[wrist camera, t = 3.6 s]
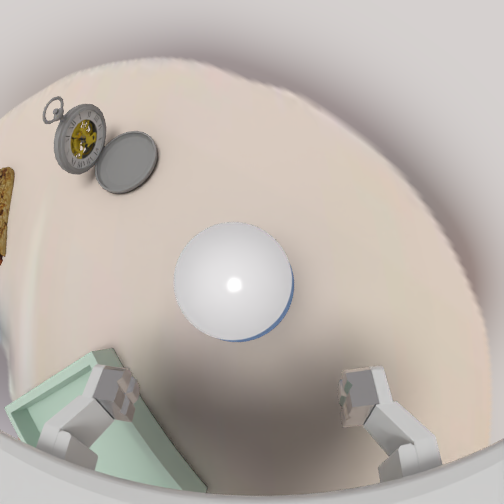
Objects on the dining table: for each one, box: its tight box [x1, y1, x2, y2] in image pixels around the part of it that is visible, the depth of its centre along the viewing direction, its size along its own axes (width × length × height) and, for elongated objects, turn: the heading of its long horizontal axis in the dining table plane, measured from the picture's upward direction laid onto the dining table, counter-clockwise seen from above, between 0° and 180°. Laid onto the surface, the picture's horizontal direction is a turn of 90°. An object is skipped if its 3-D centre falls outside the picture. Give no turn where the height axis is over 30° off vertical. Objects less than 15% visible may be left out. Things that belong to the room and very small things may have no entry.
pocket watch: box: [43, 96, 157, 193], centre depth 22 cm, size 8×8×10 cm
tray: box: [5, 348, 207, 493], centre depth 19 cm, size 15×15×4 cm
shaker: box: [174, 222, 294, 342], centre depth 17 cm, size 5×5×12 cm
